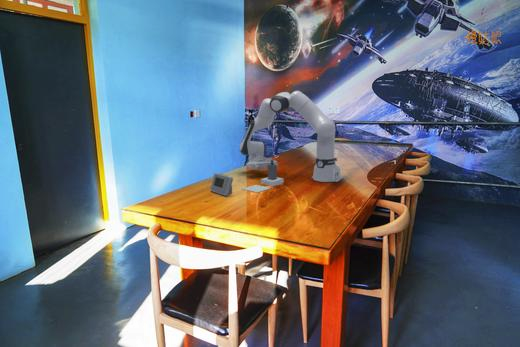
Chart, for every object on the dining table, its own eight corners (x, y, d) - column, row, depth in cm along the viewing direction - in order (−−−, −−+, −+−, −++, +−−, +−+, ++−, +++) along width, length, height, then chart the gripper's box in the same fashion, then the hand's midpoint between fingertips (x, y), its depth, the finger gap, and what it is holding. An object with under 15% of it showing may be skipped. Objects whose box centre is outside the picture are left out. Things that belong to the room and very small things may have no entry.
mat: (255, 185, 216) (255, 184, 216) (270, 188, 208) (270, 187, 208) (241, 189, 207) (241, 188, 207) (257, 192, 199) (257, 192, 199)
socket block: (271, 180, 227) (271, 176, 226) (283, 183, 220) (283, 178, 220) (260, 183, 219) (260, 179, 219) (273, 186, 213) (273, 181, 212)
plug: (271, 182, 223) (271, 159, 219) (276, 183, 220) (276, 159, 217) (267, 183, 220) (267, 160, 216) (272, 184, 217) (272, 160, 214)
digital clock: (209, 191, 204) (208, 173, 202) (223, 189, 209) (223, 171, 206) (221, 198, 190) (220, 178, 188) (236, 195, 195) (235, 176, 193)
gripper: (244, 159, 239) (250, 162, 226) (273, 157, 244) (280, 161, 232) (244, 168, 240) (250, 172, 227) (273, 166, 246) (280, 170, 233)
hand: (265, 166), depth 229 cm, fingers open, 8 cm apart
